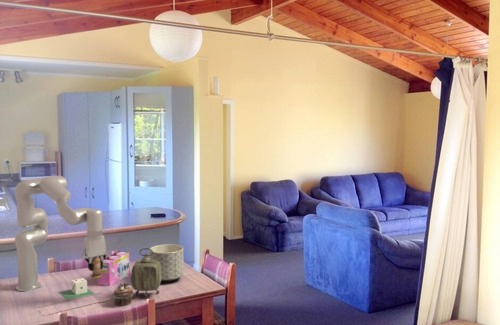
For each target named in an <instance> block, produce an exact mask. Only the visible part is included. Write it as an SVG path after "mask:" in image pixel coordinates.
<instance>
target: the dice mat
mask: <svg viewBox="0 0 500 325" xmlns="http://www.w3.org/2000/svg"><path fill="white" fill-rule="evenodd" d="M58 294H60V295H61V296H62V297H63V298H65V300H66V301H68V300H72V299H75V300H76V299H77V298H79V299H80V298H81V297H85V296H88V297H89V296H90V295H92V296H93V295H94V294H96V293H95V292H94V291H92V290H91V289H89V288H88V287H87V292H85V293H81V294H77V295H76V294H75V293H73V292H72V289H69V290H68V289H67V290H64V291H60V292H58Z"/></svg>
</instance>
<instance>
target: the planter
mask: <svg viewBox="0 0 500 325" xmlns="http://www.w3.org/2000/svg"><path fill="white" fill-rule="evenodd" d="M149 249H151V250H152V251H153V254H152V251H151V250H149V255H150V254H152V255H151V256H149V257H150V258H151V260H157V261H160V264H161V269H162V278H161V282H164V283H167V282H173V281H175V280H177V279H179V278H182V277H183V276H184V272H185V270H184V268H185V267H184V264H185V263H184V260H185V259H184V246H182V245H180V244H168V243H167V244H166V243H165V244H160V245H154V246H152V247H150V248H149Z"/></svg>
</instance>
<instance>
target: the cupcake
mask: <svg viewBox="0 0 500 325" xmlns="http://www.w3.org/2000/svg"><path fill="white" fill-rule="evenodd" d="M113 291H114V292H113V294H112V297H113V301H114V305H115V306H116V307H126V306H129V305H131V303H132V298H133V294H134V292H133V291H134V289H133V287H132V285H131V284H130V283H128V282H124V283H123V284H122V283H119V285H118V286H117V287H116V288H114V290H113Z"/></svg>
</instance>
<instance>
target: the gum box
mask: <svg viewBox="0 0 500 325" xmlns="http://www.w3.org/2000/svg"><path fill="white" fill-rule="evenodd" d="M130 266H131V264H130V252H129V251H128V252H125V251H124V252H122V251H121V250H118V251H115V252H114V253H112V254H109V255H107V256H106V257H105V259H104V261H103V267H102V269H101V274H102V278H100V279H96V280H97V281H96V282H97V286H104V287H106V286H107V287H111V286H113V285H115V284H116V283H119V282H120V281H121V280H123V279H125V278H126V277H128V276H129V275H131V267H130Z"/></svg>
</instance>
